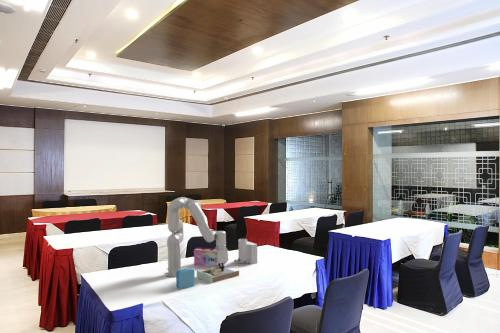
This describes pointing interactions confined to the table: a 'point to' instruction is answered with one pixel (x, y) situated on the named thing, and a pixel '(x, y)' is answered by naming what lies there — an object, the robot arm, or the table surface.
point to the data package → (185, 278)
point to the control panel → (247, 252)
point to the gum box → (205, 257)
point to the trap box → (211, 278)
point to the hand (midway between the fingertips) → (221, 271)
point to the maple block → (216, 271)
